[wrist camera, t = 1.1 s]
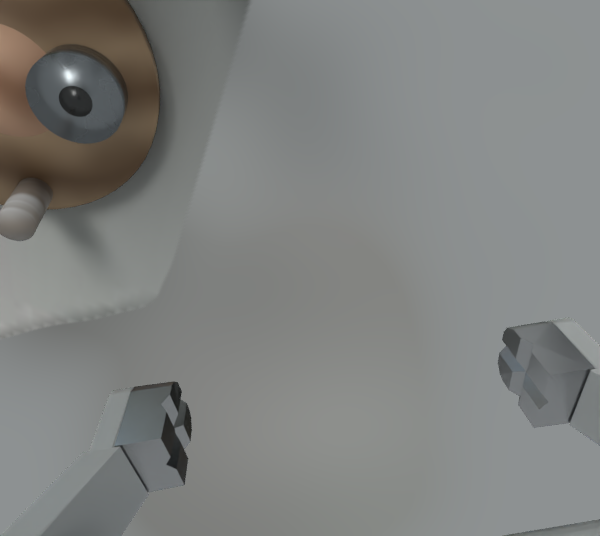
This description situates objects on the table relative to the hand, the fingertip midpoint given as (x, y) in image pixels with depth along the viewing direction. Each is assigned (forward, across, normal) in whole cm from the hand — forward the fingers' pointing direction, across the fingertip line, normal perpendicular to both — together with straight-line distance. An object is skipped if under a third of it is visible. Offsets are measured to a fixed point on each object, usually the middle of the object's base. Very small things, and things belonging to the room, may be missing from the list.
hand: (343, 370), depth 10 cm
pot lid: (+32, +16, -3) cm, 36 cm away
